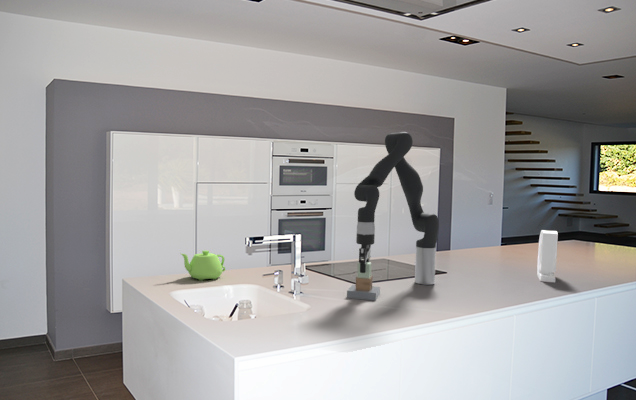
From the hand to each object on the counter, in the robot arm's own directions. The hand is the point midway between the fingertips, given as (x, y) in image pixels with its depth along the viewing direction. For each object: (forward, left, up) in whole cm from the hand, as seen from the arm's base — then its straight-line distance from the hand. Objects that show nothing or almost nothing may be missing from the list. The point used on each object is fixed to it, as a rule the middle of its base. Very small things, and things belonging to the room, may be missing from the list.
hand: (364, 270), depth 220 cm
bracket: (-72, +82, -11) cm, 110 cm away
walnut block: (0, 0, -8) cm, 8 cm away
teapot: (-7, -78, -11) cm, 79 cm away
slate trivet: (0, 0, -11) cm, 11 cm away
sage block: (0, 0, -3) cm, 3 cm away
